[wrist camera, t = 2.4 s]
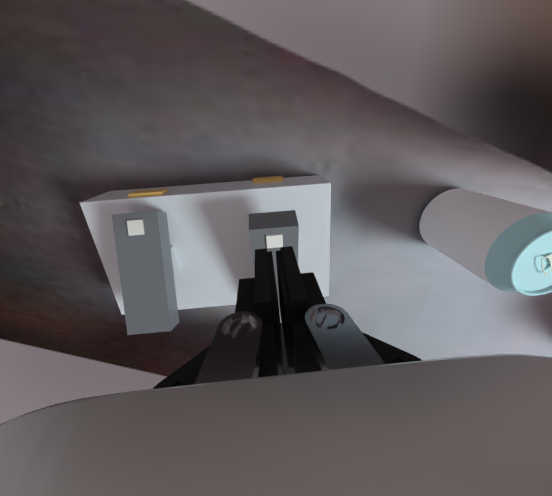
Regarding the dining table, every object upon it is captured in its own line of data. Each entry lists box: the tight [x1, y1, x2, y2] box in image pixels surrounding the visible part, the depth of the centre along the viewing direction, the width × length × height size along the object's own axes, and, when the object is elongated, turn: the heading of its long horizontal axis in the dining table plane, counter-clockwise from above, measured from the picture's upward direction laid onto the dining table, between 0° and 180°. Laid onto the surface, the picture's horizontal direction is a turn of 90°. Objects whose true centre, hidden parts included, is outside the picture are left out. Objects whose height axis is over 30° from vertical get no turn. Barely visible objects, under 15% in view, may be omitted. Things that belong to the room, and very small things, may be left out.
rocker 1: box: [112, 211, 179, 335], centre depth 22 cm, size 4×10×2 cm, turn 4°
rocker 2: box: [249, 210, 299, 308], centre depth 23 cm, size 4×10×2 cm, turn 4°
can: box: [419, 189, 552, 296], centre depth 25 cm, size 7×7×12 cm
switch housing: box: [80, 175, 331, 315], centre depth 27 cm, size 22×12×6 cm, turn 94°
